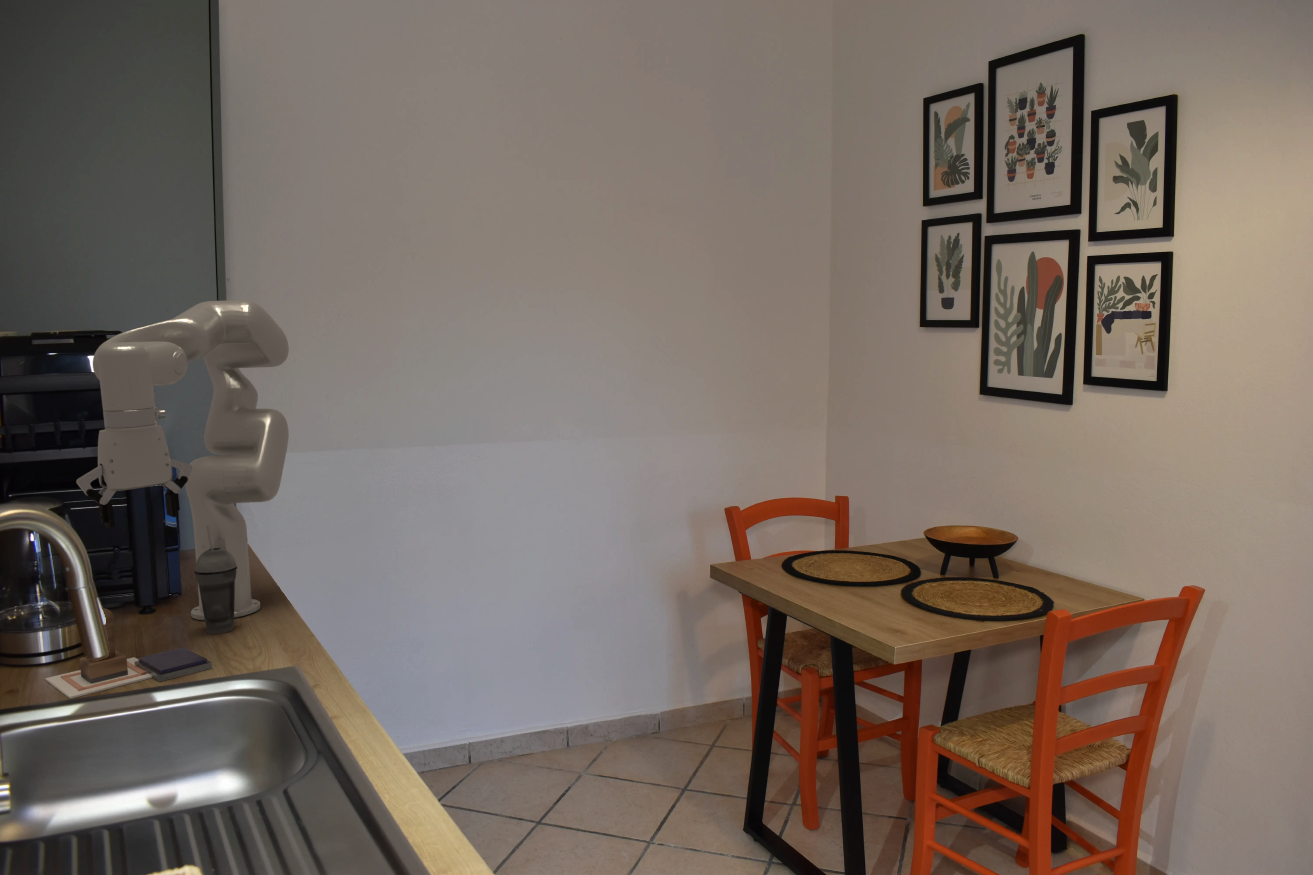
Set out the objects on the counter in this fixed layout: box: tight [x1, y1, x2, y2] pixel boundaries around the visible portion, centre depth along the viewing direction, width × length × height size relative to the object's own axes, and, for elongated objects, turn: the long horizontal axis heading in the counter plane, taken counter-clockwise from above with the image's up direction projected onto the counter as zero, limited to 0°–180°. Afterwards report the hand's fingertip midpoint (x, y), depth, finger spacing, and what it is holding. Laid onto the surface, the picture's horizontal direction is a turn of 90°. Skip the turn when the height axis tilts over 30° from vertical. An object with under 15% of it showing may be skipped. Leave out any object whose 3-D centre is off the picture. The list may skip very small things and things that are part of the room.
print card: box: [44, 657, 154, 699], centre depth 147 cm, size 13×13×1 cm
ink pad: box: [135, 646, 213, 683], centre depth 151 cm, size 11×8×2 cm
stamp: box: [79, 607, 128, 684], centre depth 147 cm, size 5×5×11 cm
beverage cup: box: [194, 525, 237, 635], centre depth 171 cm, size 7×7×20 cm
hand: (141, 521), depth 154 cm, fingers open, 9 cm apart
